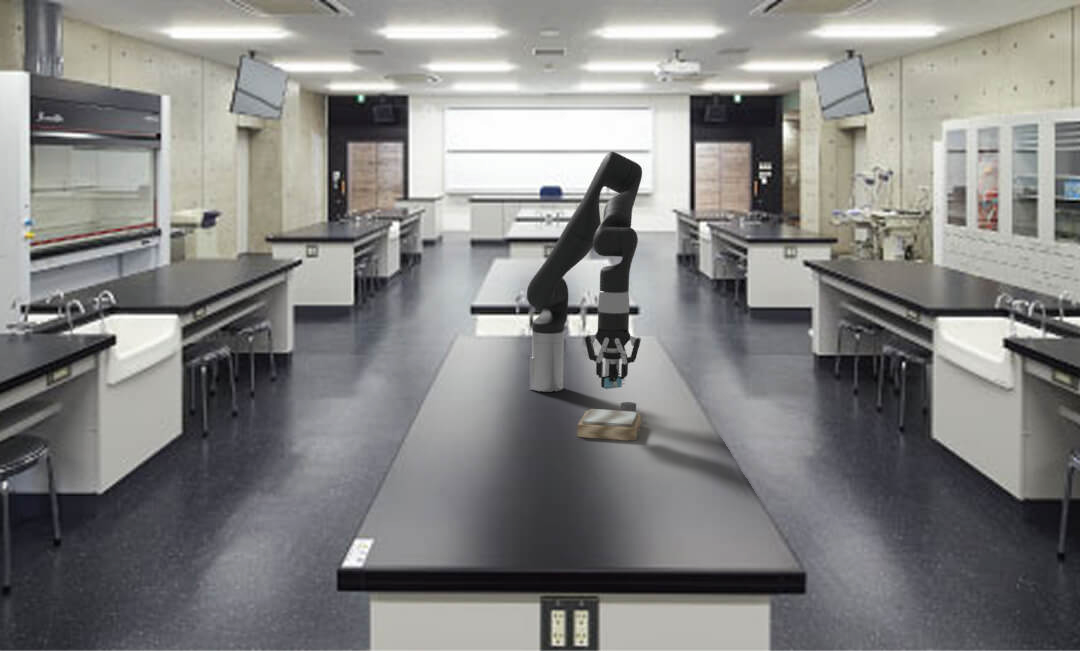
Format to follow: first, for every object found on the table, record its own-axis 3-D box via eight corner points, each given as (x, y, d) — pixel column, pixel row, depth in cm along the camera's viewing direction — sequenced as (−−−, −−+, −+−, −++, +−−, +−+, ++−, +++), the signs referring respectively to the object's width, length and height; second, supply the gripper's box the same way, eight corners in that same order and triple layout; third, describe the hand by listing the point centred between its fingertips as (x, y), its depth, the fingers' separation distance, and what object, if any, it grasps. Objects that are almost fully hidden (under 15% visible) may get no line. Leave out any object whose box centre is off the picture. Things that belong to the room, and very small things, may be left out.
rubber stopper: (619, 420, 249) (619, 405, 248) (621, 416, 252) (621, 401, 252) (634, 421, 248) (635, 406, 247) (636, 417, 252) (637, 402, 251)
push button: (619, 383, 240) (620, 344, 239) (631, 388, 236) (632, 348, 234) (596, 386, 237) (597, 346, 236) (608, 390, 233) (608, 350, 231)
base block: (577, 436, 233) (577, 421, 232) (586, 421, 246) (586, 407, 246) (634, 440, 230) (635, 425, 229) (641, 425, 244) (641, 411, 243)
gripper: (582, 310, 231) (580, 379, 234) (641, 313, 228) (639, 383, 231) (586, 306, 238) (585, 373, 241) (644, 308, 235) (642, 376, 238)
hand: (611, 377), depth 236 cm, fingers closed on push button, 5 cm apart
